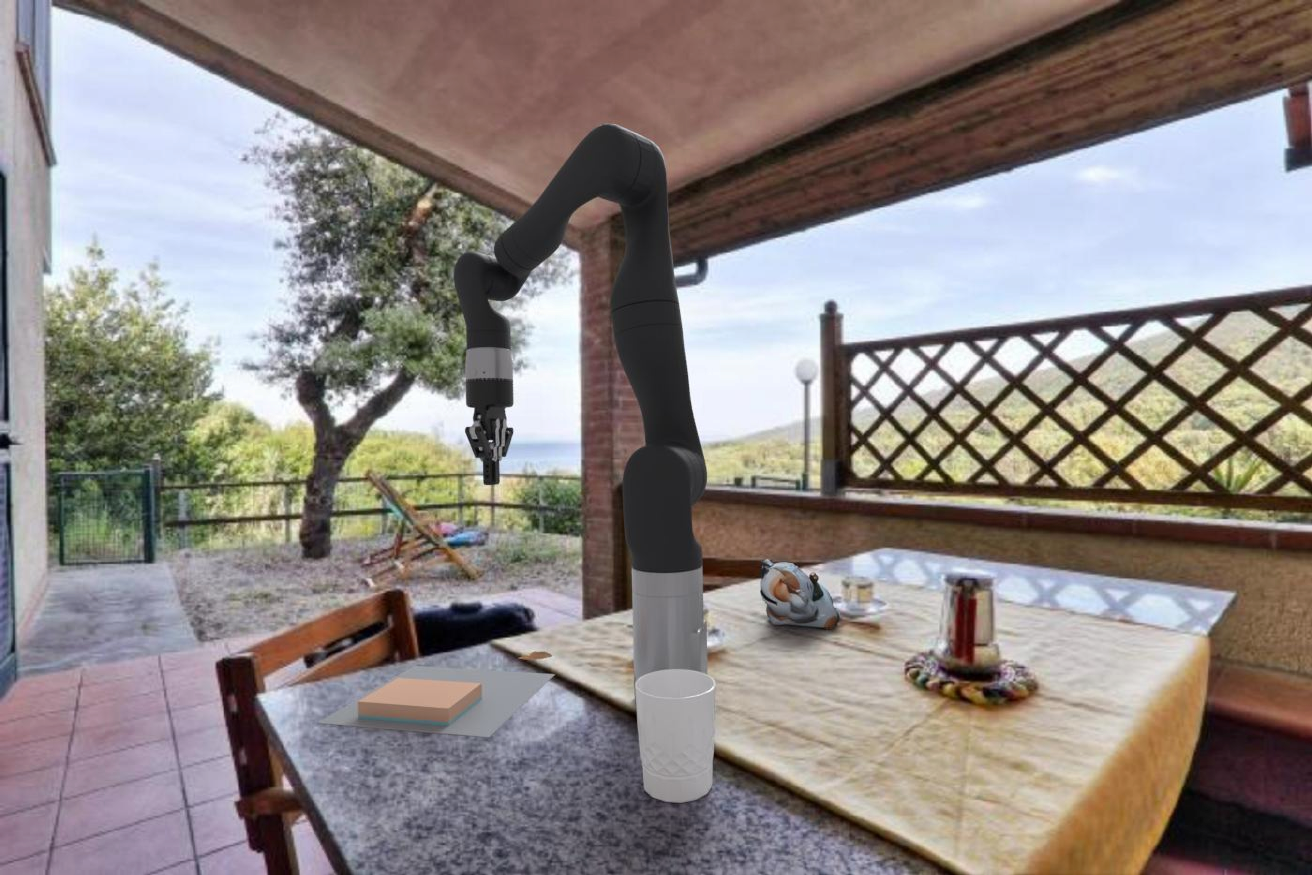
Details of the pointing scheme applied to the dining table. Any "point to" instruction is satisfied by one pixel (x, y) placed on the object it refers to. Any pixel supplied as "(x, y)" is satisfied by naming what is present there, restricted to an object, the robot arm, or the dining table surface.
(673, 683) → the white cup
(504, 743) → the dining table surface
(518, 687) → the board
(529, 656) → the shard
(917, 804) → the dining table surface
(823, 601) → the lucky cat figurine
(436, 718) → the tile
